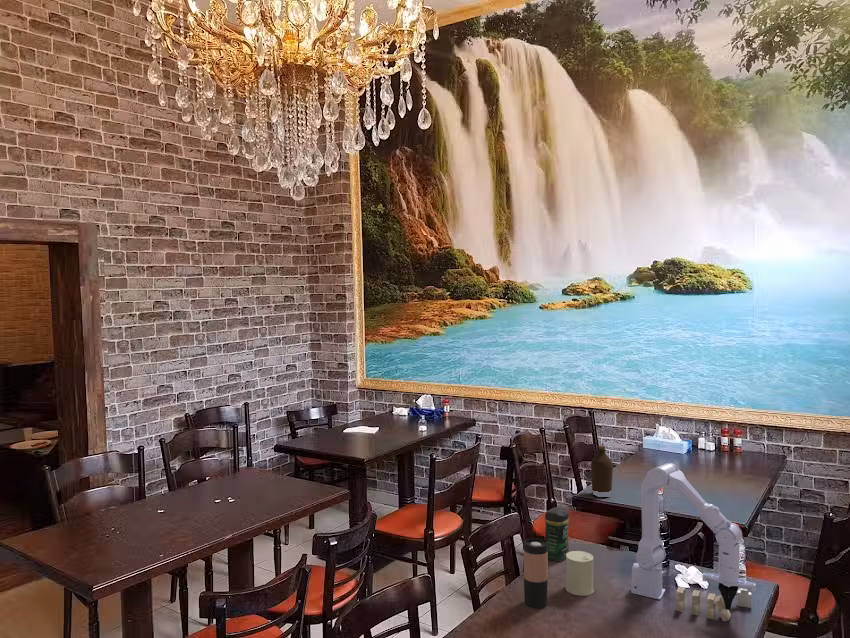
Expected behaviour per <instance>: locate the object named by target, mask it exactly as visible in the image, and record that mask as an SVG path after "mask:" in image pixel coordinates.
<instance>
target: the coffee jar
mask: <svg viewBox="0 0 850 638" xmlns="http://www.w3.org/2000/svg"><path fill="white" fill-rule="evenodd" d="M544 521H545V535H544V536H545V537H544V542H545V543H547V552H548V560H550V561H553V562H554V561H557V562H561V561H563V560H565V559H566V554H567V553H568V552H570V551H569V523H570V522H569V521H570V513H569V510H568V509H567V508H565V507H562V506H556V507H553V508H551V509H549V510H547V511H545V515H544Z"/></svg>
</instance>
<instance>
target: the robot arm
mask: <svg viewBox="0 0 850 638" xmlns="http://www.w3.org/2000/svg"><path fill="white" fill-rule="evenodd" d="M666 486H667V487H666ZM664 487H666V489H667V490H671V491H677V492H679V493H680V494H681V495H682V496H683V497H684V498H685V499H686V500H687V501H688V502H689V503H690V504H692V506H693V507H694V508H696V510H697V513H698V517H699V518H700V519H701V521H703V522H704V523H705V525H706V526H707V527H708V528H709V529H710V530H711V532H713V534H715V535H714V536H715V539H716V541H717V544H718V573H711V572H710V573H708V572H703V573H702V582H710V583H715V584H718V588H717V589H718V591H719V593H720V595H721V596H722V598H723V600H724V603H725V609H726V610H729V611H731V609H732V604H733V601H734V599H735V597H736V596H737V591H738V590H739V589H741V588H742V589H747V590H748V591H751V592H753V593H755V592H756V590H757V589H756V582H752V581H748V580H745V579H742V578H740V541H741V540H742V538H743V532H742V529H741V528H740V526H739V525H738V524H736V523H735V522H732V521H731V520H729V519H727V517H726V516H724V514H723V513H722V512H721V511H720V508H719V507H718V506H715V505H714V504H712V503H707V502H706V500H705V499H703V497H702V496H701V495H700V493H699V492H698V490H696V489H695V488H694V486H693V485H692V484H691V483H690V482H689V480H687V478H686V476H685V474H684V472H683V471H682V470H680V469H679V468H678V466H677V465H675V464H674V463H672V462H666V463H664V464H661V465H660V466H657V467H653V468H652V469H650V470H649V471H647V472H646V476H645V477H644V479H643V480H642V483H641V486H640V491H641V492H640V493H641V494H640V496H641V497H640V498H641V538H640V541H639V543H638V545H637V546H638V547H637V548H638V549H637V552H636V554H635V559H636V562H634V563H633V565H632V568H631V591H630V593H631V594H634V595H638V596H642V597H646V598H651V599H656V600H662V597H663V596H664V594H665V592H666V588H663V561H664V560H665V559H666V555H667V554H666V550H665V547H664V544H663V543H664V541H663V540H662V538H660V517H659V516H660V511H659V510H660V509H659V508H660V507H659V491H660V490H662V489H663V488H664Z"/></svg>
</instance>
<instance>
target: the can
mask: <svg viewBox="0 0 850 638" xmlns="http://www.w3.org/2000/svg"><path fill="white" fill-rule="evenodd" d="M565 559H566V560H565V561H566V562H565V565H566V566H565V567H566V568H565V569H566V570H565V572H566V575H565V580H566V581H565V590H566V591H567V593H569V594H571V595H574V596H578V597H580V596H581V597H584V596H585V597H586V596H590V595H592V594H593V593H594V591H595V590H594V556H593V554H591V553H589V552H586V551H584V550H583V551H582V550H572V551H569V552H568V553H567V554H566V558H565Z"/></svg>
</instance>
